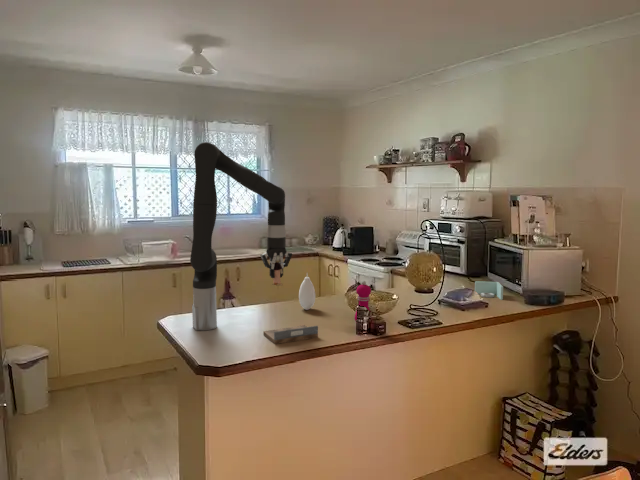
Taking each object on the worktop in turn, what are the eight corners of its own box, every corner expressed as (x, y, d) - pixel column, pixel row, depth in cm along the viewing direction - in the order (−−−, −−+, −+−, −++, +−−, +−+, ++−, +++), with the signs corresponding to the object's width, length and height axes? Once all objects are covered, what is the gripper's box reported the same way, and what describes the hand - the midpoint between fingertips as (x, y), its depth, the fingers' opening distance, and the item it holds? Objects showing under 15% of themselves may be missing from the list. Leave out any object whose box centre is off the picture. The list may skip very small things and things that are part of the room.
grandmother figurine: (286, 285, 200) (287, 254, 199) (281, 286, 197) (281, 255, 195) (272, 282, 204) (272, 252, 203) (266, 284, 201) (266, 253, 199)
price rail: (274, 340, 181) (274, 332, 180) (274, 339, 181) (274, 331, 181) (318, 333, 189) (318, 326, 188) (317, 333, 189) (317, 325, 189)
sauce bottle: (315, 311, 226) (315, 273, 224) (298, 311, 226) (298, 273, 224) (315, 307, 234) (315, 270, 231) (299, 307, 234) (299, 270, 232)
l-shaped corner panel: (474, 294, 264) (475, 281, 263) (497, 295, 262) (498, 281, 261) (478, 300, 252) (479, 285, 251) (502, 300, 250) (503, 286, 249)
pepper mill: (353, 325, 204) (353, 279, 202) (370, 325, 205) (370, 278, 202) (355, 331, 197) (356, 282, 194) (373, 330, 197) (374, 282, 195)
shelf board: (274, 344, 181) (274, 340, 181) (263, 334, 191) (263, 331, 191) (317, 337, 189) (317, 333, 189) (304, 328, 200) (304, 325, 199)
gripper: (263, 237, 191) (263, 280, 194) (295, 236, 198) (295, 277, 200) (256, 235, 198) (257, 277, 200) (288, 234, 204) (288, 274, 207)
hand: (276, 277), depth 200 cm, fingers closed on grandmother figurine, 3 cm apart
